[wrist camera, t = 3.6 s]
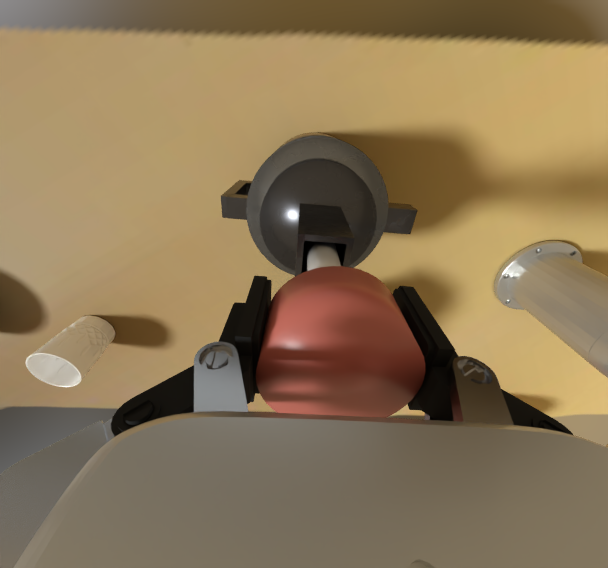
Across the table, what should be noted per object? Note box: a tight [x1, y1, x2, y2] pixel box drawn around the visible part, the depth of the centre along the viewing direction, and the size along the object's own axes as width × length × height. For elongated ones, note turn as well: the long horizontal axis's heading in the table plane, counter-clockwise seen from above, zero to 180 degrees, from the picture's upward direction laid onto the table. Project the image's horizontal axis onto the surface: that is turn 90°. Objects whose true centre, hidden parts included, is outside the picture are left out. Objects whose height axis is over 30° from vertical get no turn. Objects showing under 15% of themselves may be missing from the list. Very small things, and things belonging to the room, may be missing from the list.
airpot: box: [221, 133, 417, 276], centre depth 26 cm, size 19×13×23 cm
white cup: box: [26, 315, 115, 387], centre depth 45 cm, size 8×8×10 cm
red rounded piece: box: [256, 241, 425, 418], centre depth 13 cm, size 6×6×10 cm
